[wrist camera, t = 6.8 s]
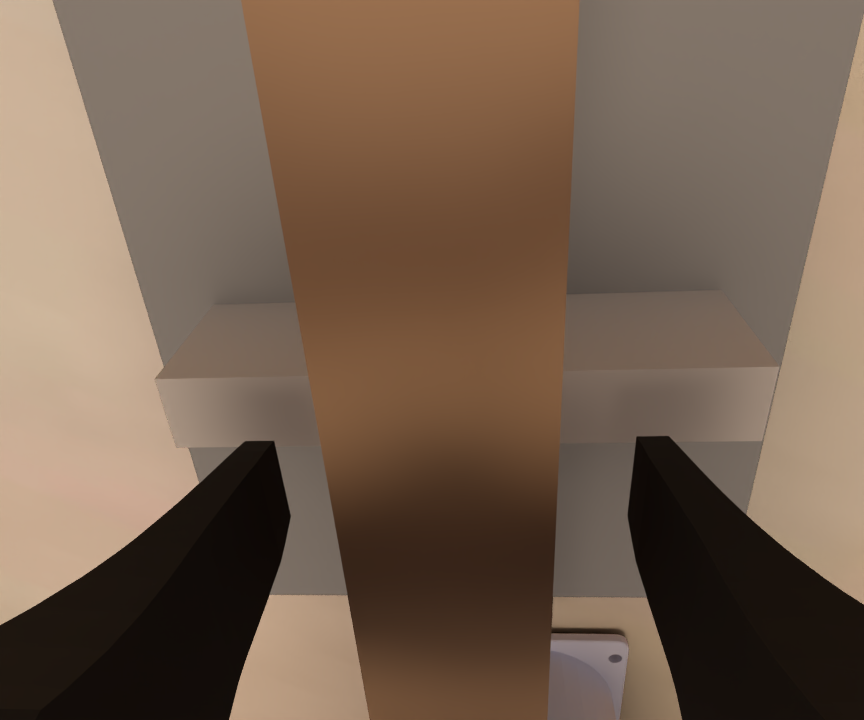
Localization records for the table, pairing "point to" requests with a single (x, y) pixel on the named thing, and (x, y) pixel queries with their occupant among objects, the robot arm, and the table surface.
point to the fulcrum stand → (587, 254)
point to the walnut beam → (431, 322)
